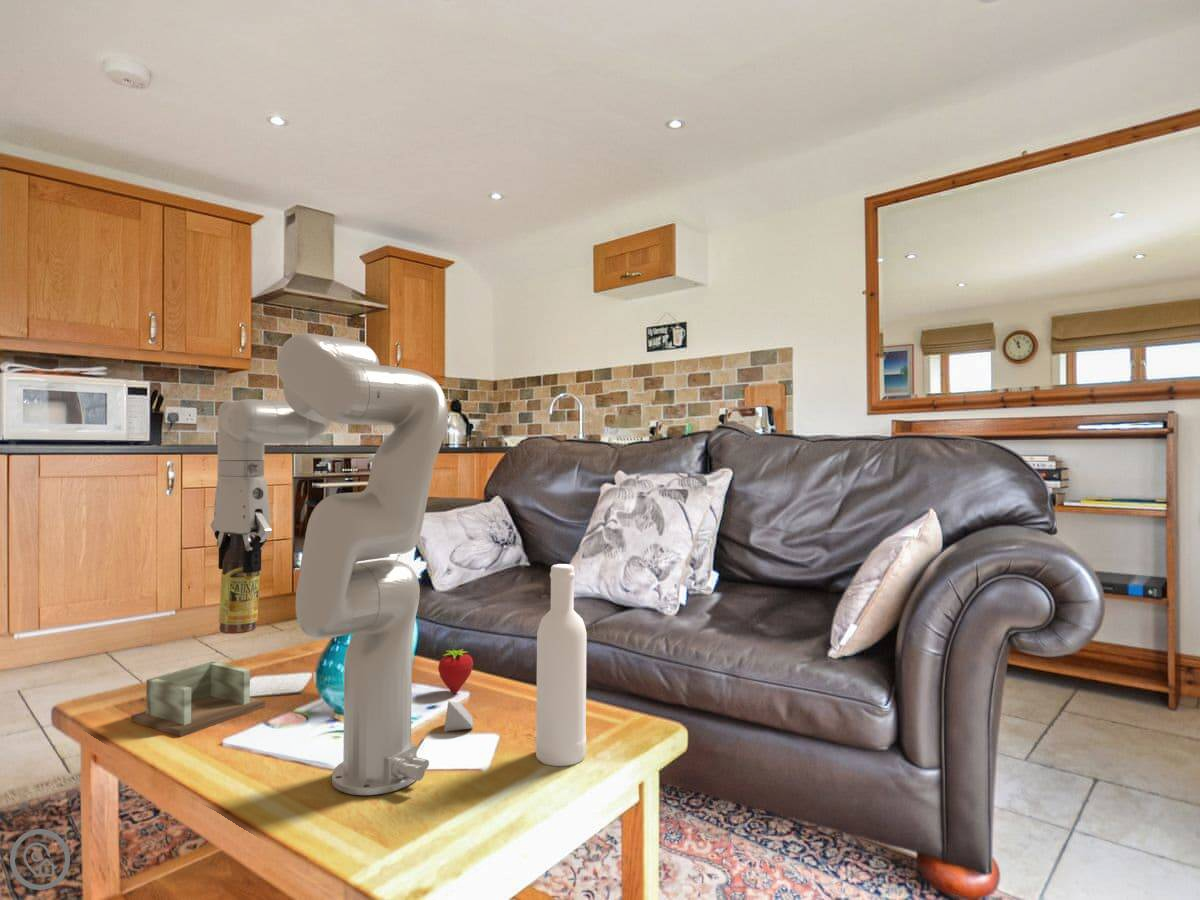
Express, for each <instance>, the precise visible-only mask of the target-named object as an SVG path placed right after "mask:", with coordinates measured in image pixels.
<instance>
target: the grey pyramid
mask: <svg viewBox="0 0 1200 900" xmlns="http://www.w3.org/2000/svg"><path fill="white" fill-rule="evenodd" d="M446 707H447V708H446V714H445V722H444V729H443V732H444V733H445V732H452V731H453V732H454V731H461V730H470V729H474V719H473V715H472V714H471V713H470V712H469V711H468V709H466V708H465V707H464V705H463V704H461V702H456V701H450V700H449V701H448V702H447V706H446Z"/></svg>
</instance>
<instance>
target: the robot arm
mask: <svg viewBox="0 0 1200 900" xmlns="http://www.w3.org/2000/svg"><path fill="white" fill-rule="evenodd" d="M276 368H277V373H278V377H279V379H280V381H281V382H282V384H283V386H282V389H283V390H282V391H283V395H284V398H285V400H277V399H276V400H275V399H273V400H272V399H257V398H256V399H253V398H247V399H240V400H238V401H224V402H222V403H221V404H220V405H219V408H218V410H217V411H218V412H217V413H218V415H217V417H218V419H217V475H216V477H217V482H216V487H215V495H214V505H213V506H214V507H213V520H212V522H211V523H210V528H211V529H212V531H213V533H214V537H215V539H216V546H217V547H218V566H217V567H218V570H223V559H224V557H225V555H226V552H227V551H228V550H229V548H230V542H231V534H240V535H243V539H244V543H245V547H246V550H245V551H243V572H244V573H252V572H259V571H260V572H261V571H262V550H263V549H264V548H265V543H266V542H267V540H268V538H269V536H270V535H271V533H272V528H271V511H270V510H271V507H270V495H269V494H270V493H269V487H268V484H267V479H266V478H265V444H301V443H305V442H309V441H311V440H312V439H314V438H316V437H318V436H320V435H322V434H324V433H325V432H327V430H328V429H329V428H330V426H331V424H332V422H334V423H337V424H344V425H368V426H371V425H372V426H393V431H392V432H391V433H390V434H389V435H388V436H387V437H386V438H385V439H384V440H383V442H382V443H381V444H380V446H379V447H378V449H377V450H376V452H375V453H374V456H373V458H372V461H371V466H370V472H369V476H368V480H367V484H366V486H365V489H363V490H362V491H357V492H341V493H335V494H331V495H329V496H326V497H324V498H323V499H321V500H320V501H319V502H318V503H317V505H316V506H314V508H313V510H312V512H311V513H310V517H309V518H308V522H307V526H306V531H305V535H304V536H305V537H304V543H303V548H302V554H301V561H300V567H299V571H298V572H299V573H298V578H297V584H296V585H297V586H296V592H295V607H294V608H295V616H296V620H297V623H298V625H299V627H300V629H301V630H302V631H303V633H305V634H306V636H308V637H310V638H312V639H313V638H314V639H318V640H319V639H321V640H324V639H333V638H337V637H341V636H342V637H343V636H346V635H350V634H351V635H352V634H353V635H352V637H351V638H350V641H349V643H348V645H347V648H346V653H345V657H344V662H343V663H344V664H343V670H344V671H343V761H342V762H340V763H339V764H337V766H336V767H335V768H334V769H333V771H332V773H331V783H332V786H333V787H334V788H335V789H337V790H338V791H340V792H342V793H344V794H349V795H355V796H375V795H376V796H377V795H383V794H388V793H391V792H392V793H393V792H395V791H398V790H401V789H403V788H406V787H407V786H410V785H411V784H412V783H414V782H415V781H418V782H419V781H422V780H423V778H424V776H425V773H426V770H428V768H429V765H430V761H429V760H428V759H425V758H421V757H418V755H417V747H418V746H417V744H413V743H412V690H413V689H412V684H413V683H412V681H413V678H412V677H413V676H412V675H413V674H412V673H413V670H412V669H413V642H414V640H413V639H414V631H415V630H414V628H415V623H416V617H417V613H418V608H419V605H420V604H419V602H420V594H421V589H420V588H421V587H420V582H419V579H418V576H417V574H416V572H415V571H414V569H413V568H412V567H411V566H409V565H408V564H407V563H404V562H403V561H399V560H394V559H387V558H392V557H396V556H401V555H404V554H407V553H409V552H411V551H412V550H414V549H415V547H416V546H417V544H418V543H419V540H420V536H421V532H422V529H423V524H424V520H425V514H426V509H427V505H428V499H429V494H430V489H431V488H430V487H431V482H432V476H433V472H434V467H435V464H436V460H437V458H438V454H439V452H440V449H441V447H442V444H443V441H444V437H445V436H446V435H445V434H446V431H447V427H448V416H449V413H448V410H449V409H448V403H447V399H446V396H445V393H444V391H443V389H442V387H441V386H440V384H439V383H438V382H437V381H436V380H435V379H434V378H433V377H431V376H430V375H428V374H427V373H424V372H421V371H418V370H415V369H410V368H406V367H399V366H391V365H390V366H389V365H381V364H380V360H379V358H378V356H377V354H376V352H375V351H374V349H372V348H371V347H370V346H368V345H367V344H365V343H363V342H361V341H359V340H355V339H351V338H344V337H338V336H331V335H324V334H318V333H307V332H304V333H298V334H295V335H293V336H291V337H290V338H288V339H287V340H286V341H285V342H284V343H283V345H282V346H281V348H280V350H279V352H278V355H277V359H276ZM251 530H254V532H250V531H251ZM250 537H254V539H253V540H252V542H251V538H250ZM385 558H386V559H385ZM376 559H378V560H376Z"/></svg>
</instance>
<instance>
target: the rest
mask: <svg viewBox="0 0 1200 900" xmlns="http://www.w3.org/2000/svg"><path fill="white" fill-rule="evenodd" d="M145 693H146V696H145V697H146V701H145V702H146V703H145V705H146V709H145V710H146V711H142V712H138V713H135V714H133V715H130V716H131V717H130V718H131V722H132V723H135V724H138V725H142V726H144V727H148V728H151V729H155V730H158V731H161V732H163V733H167V734H170V735H174V736H177V737H180V738H181V737H184V736H187V735H189V734H193V733H196V732H198V731H201V730H203V729H207V728H209V727H213V726H214V725H218V724H220V723H221V724H222V723H223V722H226V721H229V720H231V719H235V718H238V717H239V716H243V715H246V714H248V713H252V712H253V711H257V710H259V709H262V708H265V707H266V701H265V700H261V699H257V698H253V697H251V695H250V693H251V669H247V668H244V667H239V666H234V665H230V664H225V663H221V662H216V661H210V662H206V663H202V664H199V665H196V666H191V667H188V668H185V669H181V670H176V671H172V672H169V673H165V674H163V675H158V676H155V677H152V678H148V679H146V692H145Z"/></svg>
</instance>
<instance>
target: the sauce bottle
mask: <svg viewBox="0 0 1200 900" xmlns="http://www.w3.org/2000/svg"><path fill="white" fill-rule="evenodd" d="M250 532H254V530H251V531H250ZM254 537H255V536H254ZM254 537H250V538H251V542H252V540H253V539H254ZM245 550H246V547H245V543H244V539H243V535H240V534H231V542H230V548H229V550H228V551H227V552H226V555H225V557H224V559H223V569H221V571H222V572H221V573H220V574H221V577H220V595H219V596H220V598H219V617H218V618H219V619H218V622H219V632H220V633H222V634H226V635H227V634H229V635H232V634H234V635H236V634H245V633H248V632H249V633H250V632H253V631H255V630H256V627H257V621H259V620H258V619H259V618H258V617H259V596H260V595H259V592H260V572H261V571H259V572H252V573H244V572H243V551H245Z"/></svg>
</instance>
